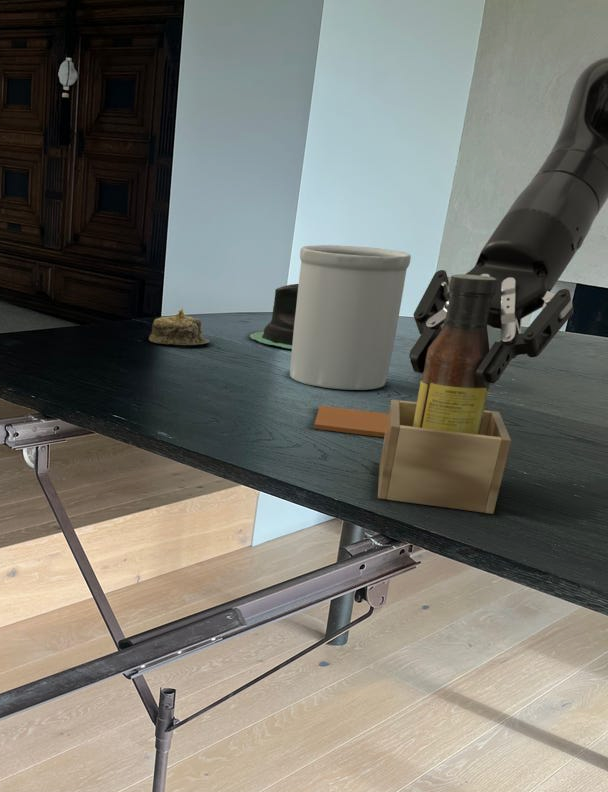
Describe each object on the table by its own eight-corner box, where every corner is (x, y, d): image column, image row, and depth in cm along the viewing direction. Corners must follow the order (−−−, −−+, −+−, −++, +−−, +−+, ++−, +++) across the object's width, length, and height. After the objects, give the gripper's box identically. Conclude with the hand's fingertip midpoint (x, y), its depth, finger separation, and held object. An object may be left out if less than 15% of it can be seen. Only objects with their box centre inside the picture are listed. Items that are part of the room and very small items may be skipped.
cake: (148, 349, 157) (147, 313, 154) (149, 339, 166) (148, 305, 163) (211, 348, 156) (211, 313, 154) (208, 338, 165) (209, 304, 163)
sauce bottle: (479, 497, 96) (531, 282, 87) (427, 501, 94) (474, 281, 85) (437, 476, 102) (482, 272, 93) (387, 479, 100) (428, 270, 90)
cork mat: (400, 419, 123) (400, 415, 123) (400, 439, 114) (401, 434, 114) (319, 410, 125) (319, 405, 125) (313, 429, 116) (314, 423, 116)
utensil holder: (275, 383, 137) (293, 248, 130) (292, 364, 150) (309, 241, 142) (383, 397, 134) (408, 259, 126) (390, 376, 147) (413, 250, 139)
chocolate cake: (360, 331, 177) (387, 356, 160) (264, 375, 181) (279, 405, 164) (332, 250, 171) (356, 267, 153) (232, 298, 175) (245, 320, 157)
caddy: (483, 479, 102) (499, 411, 99) (493, 514, 92) (511, 440, 89) (379, 465, 104) (391, 399, 101) (377, 498, 94) (391, 425, 91)
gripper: (462, 198, 96) (370, 333, 93) (609, 213, 87) (512, 363, 84) (477, 256, 101) (391, 384, 99) (617, 275, 92) (526, 417, 90)
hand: (447, 374), depth 92 cm, fingers closed on sauce bottle, 6 cm apart
